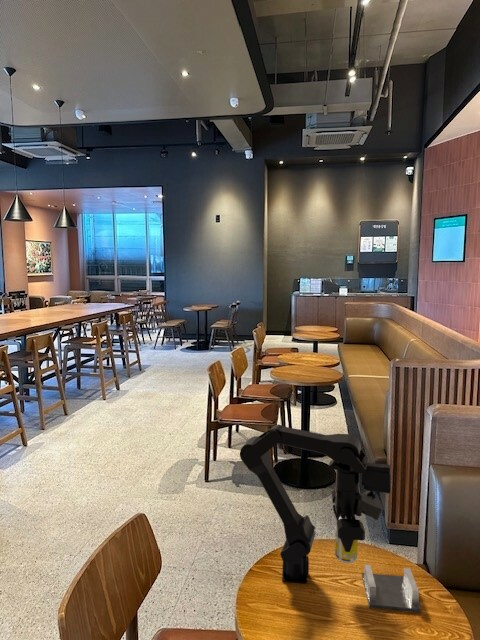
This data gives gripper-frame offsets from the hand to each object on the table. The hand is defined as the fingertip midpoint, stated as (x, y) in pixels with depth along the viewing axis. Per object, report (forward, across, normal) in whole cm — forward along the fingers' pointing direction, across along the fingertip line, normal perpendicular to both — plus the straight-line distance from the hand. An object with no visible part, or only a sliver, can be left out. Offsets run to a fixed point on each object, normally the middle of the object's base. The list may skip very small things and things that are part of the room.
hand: (346, 544), depth 109 cm
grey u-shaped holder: (+12, -1, -11) cm, 16 cm away
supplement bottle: (+4, 0, 0) cm, 4 cm away
